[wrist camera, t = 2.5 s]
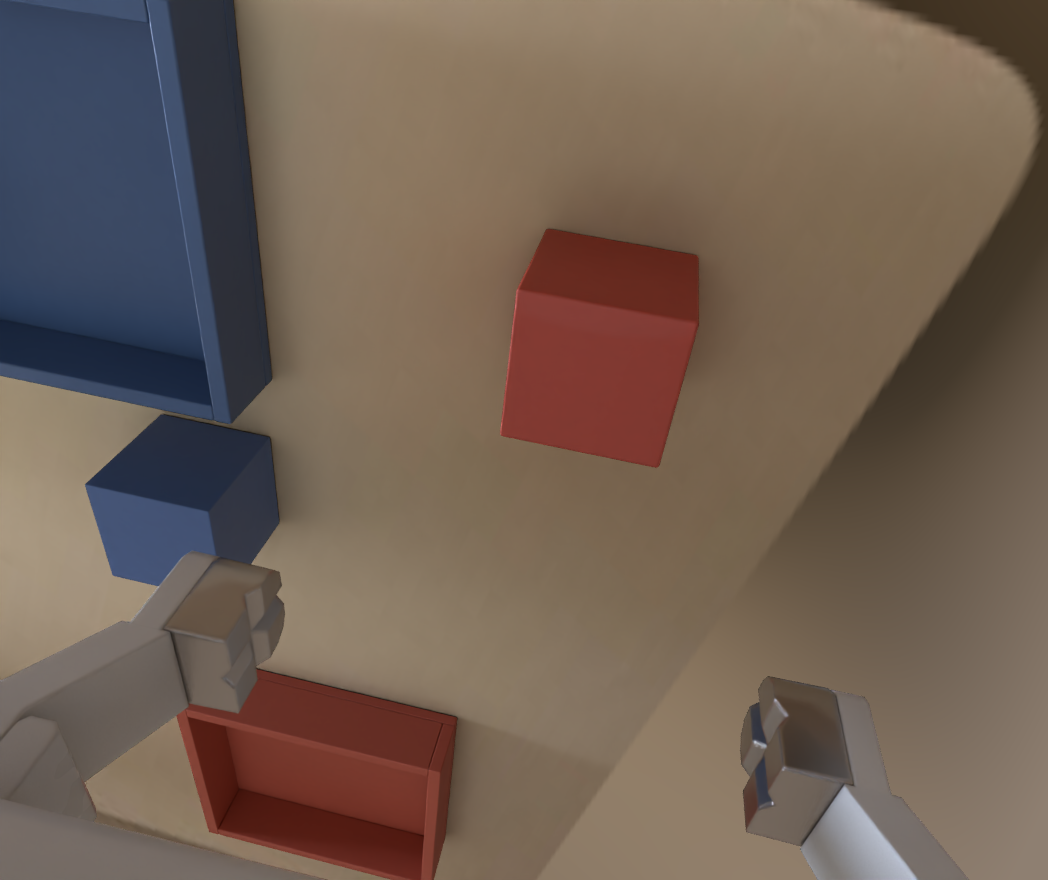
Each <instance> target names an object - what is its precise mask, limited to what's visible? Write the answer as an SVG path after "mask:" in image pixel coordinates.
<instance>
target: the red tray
mask: <svg viewBox="0 0 1048 880" xmlns="http://www.w3.org/2000/svg"><path fill="white" fill-rule="evenodd" d="M256 671H257V678H258V680H257V682H256V684H255V686H254V687H253V689H252V691H251V693H250V694H249V696H248V698H247V700H246V701H245V703H244V705H243V707H242V708H241V710H240V712H239V714H238V713H233V712H228V711H223V710H218V709H214V708H209V707H204V706H199V705H194V704H189V703H188V704H189V707H188V708H186V709H185V710H183V711H182V712H181V713H179V714H178V715H176V716H177V719H178V723H179V727H180V730H181V734H182V737H183V741H184V744H185V748H186V751H187V755H188V758H189V762H190V766H191V769H192V773H193V776H194V780H195V783H196V787H197V790H198V794H199V798H200V801H201V805H202V808H203V812H204V815H205V819H206V822H207V826H208V829H209V832H212V833H215V834H220V835H224V836H227V837H231V838H235V839H239V840H243V841H247V842H250V843H254V844H258V845H262V846H266V847H269V848H273V849H277V850H281V851H285V852H288V853H292V854H296V855H300V856H304V857H307V858H311V859H315V860H319V861H323V862H326V863H330V864H334V865H338V866H342V867H345V868H349V869H353V870H357V871H361V872H364V873H368V874H372V875H376V876H380V877H383V878H387V879H391V880H434V876H435V873H436V869H437V865H438V862H439V858H440V854H441V851H442V847H443V844H444V840H445V834H446V824H447V814H448V804H449V795H450V785H451V775H452V765H453V755H454V745H455V735H456V726H457V717H453V716H449V715H445V714H440V713H436V712H432V711H428V710H424V709H420V708H416V707H411V706H407V705H403V704H399V703H395V702H391V701H387V700H382V699H378V698H374V697H370V696H366V695H362V694H357V693H353V692H349V691H345V690H341V689H337V688H333V687H328V686H324V685H320V684H316V683H312V682H308V681H304V680H299V679H295V678H291V677H287V676H283V675H279V674H274V673H270V672H266V671H262V670H258V669H256Z"/></svg>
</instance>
